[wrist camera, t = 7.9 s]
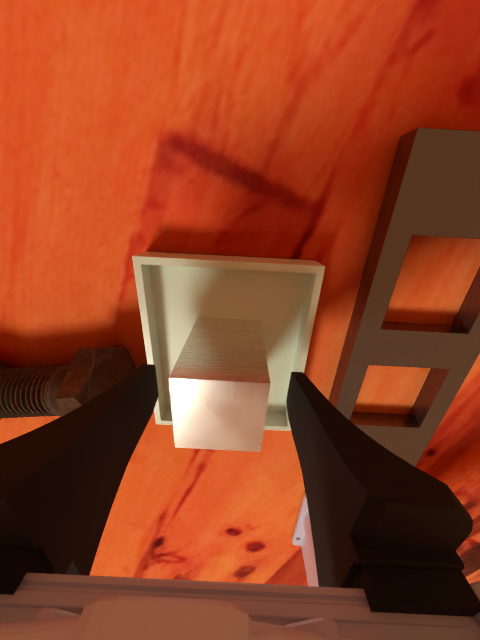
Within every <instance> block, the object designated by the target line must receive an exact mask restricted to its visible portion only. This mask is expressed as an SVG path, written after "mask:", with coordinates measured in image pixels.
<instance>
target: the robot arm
mask: <svg viewBox="0 0 480 640" xmlns="http://www.w3.org/2000/svg"><path fill="white" fill-rule="evenodd" d="M158 396H159V392H158V384H157V376H156V368H155V365H154V364H143V365H141V366H140V367H138V368H137V369H135V370H134V371H133V372H131V373H130V374H129V375H127V376H126V377H124V378H123V379H122V380H120V381H119V382H117V383H116V384H115V385H113V386H112V387H110V388H109V389H107V390H106V391H104V392H103V393H101V394H100V395H98V396H97V397H95V398H93V399H92V400H90V401H89V402H87V403H85V404H84V405H82V406H80V407H79V408H77V409H75V410H73V411H71V412H69V413H68V414H66V415H64V416H62V417H60V418H58V419H56V420H54V421H52V422H50V423H48V424H46V425H43V426H41V427H39V428H37V429H35V430H33V431H31V432H28V433H26V434H24V435H21V436H19V437H17V438H14V439H12V440H9V441H7V442H4V443H2V444H0V640H480V581H479V582H474V583H471V584H469V583H468V581H467V580H466V578H465V576H464V575H463V573H462V571H461V570H463V569H464V564H463V562H462V560H461V559H460V557H459V556H458V554H457V553H456V549H457V548H458V547H459V546H460V545H461V544H462V543H463V542H464V540H465V539H466V538H467V537H468V536H469V534H470V533H471V531H472V527H473V520H472V518H471V516H470V514H469V513H468V512H467V510H466V509H465V508H464V506H463V505H462V504H461V503H460V501H459V500H458V499H457V497H456V496H455V495H454V493H453V492H452V491H451V489H450V488H449V487H448V486H447V485H446V484H444V483H443V482H441V481H439V480H437V479H436V478H434V477H432V476H430V475H428V474H427V473H425V472H423V471H421V470H420V469H418V468H416V467H414V466H413V465H411V464H409V463H408V462H406V461H405V460H403V459H402V458H400V457H398V456H397V455H395V454H394V453H392V452H391V451H389V450H388V449H386V448H385V447H383V446H382V445H380V444H379V443H378V442H376V441H375V440H374V439H372V438H371V437H369V436H368V435H367V434H365V433H364V432H363V431H362V430H360V429H359V428H358V427H357V426H356V425H354V424H353V423H352V422H351V421H350V420H348V419H347V418H346V417H345V416H344V415H343V414H342V413H341V412H340V411H339V410H338V409H336V408H335V407H334V406H333V405H332V404H331V403H330V402H329V401H328V400H327V399H326V398H325V396H324V395H323V394H322V393H321V392H320V391H319V390H318V389H317V388H316V387H315V385H314V384H313V383H312V382H311V381H310V380H309V379H308V378H307V376H306V375H305V374H304V373H303V372H291V376H290V382H289V387H288V393H287V399H286V404H287V412H288V419H289V423H290V427H291V431H292V435H293V438H294V442H295V446H296V450H297V453H298V457H299V461H300V465H301V469H302V474H303V480H304V486H305V492H306V493H305V494H304V498H303V501H302V505H301V508H300V512H299V516H298V519H297V523H296V526H295V530H294V534H293V537H292V543H293V544H294V545H298V546H302V552H303V558H304V563H305V569H306V575H307V581H308V586H293V585H273V584H252V583H231V582H210V581H190V580H169V579H148V578H128V577H107V576H89V574H90V571H91V568H92V565H93V561H94V558H95V555H96V552H97V549H98V546H99V542H100V539H101V536H102V533H103V530H104V528H105V525H106V522H107V519H108V516H109V513H110V510H111V507H112V504H113V502H114V499H115V496H116V493H117V491H118V488H119V485H120V483H121V480H122V477H123V475H124V472H125V470H126V467H127V465H128V462H129V460H130V458H131V456H132V454H133V451H134V449H135V447H136V445H137V443H138V441H139V439H140V437H141V435H142V433H143V431H144V429H145V427H146V425H147V423H148V421H149V419H150V417H151V415H152V413H153V410H154V408H155V405H156V402H157V399H158Z"/></svg>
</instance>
